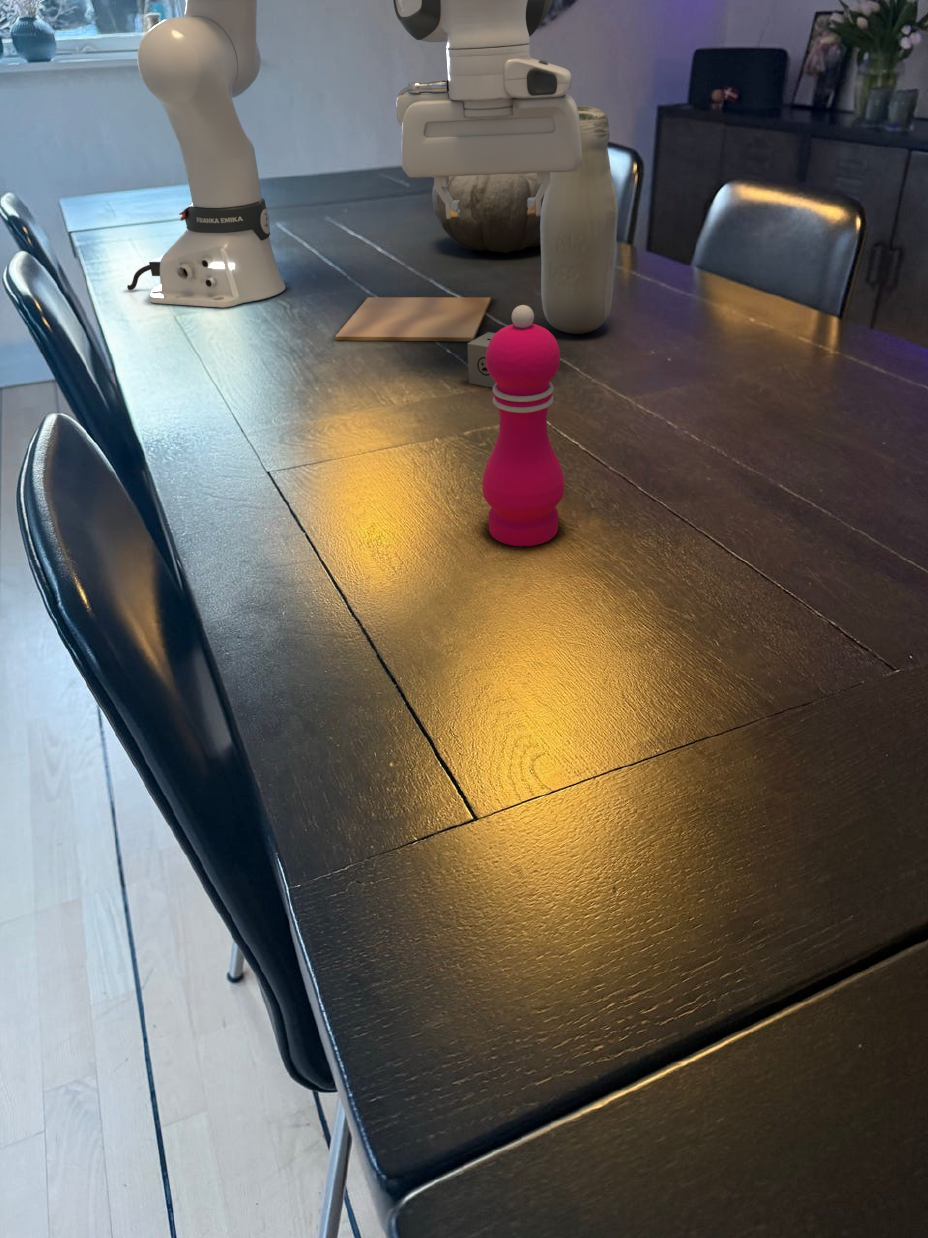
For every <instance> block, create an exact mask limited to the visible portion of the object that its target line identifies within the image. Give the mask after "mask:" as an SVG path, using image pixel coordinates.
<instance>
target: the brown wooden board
mask: <svg viewBox="0 0 928 1238" xmlns="http://www.w3.org/2000/svg"><path fill="white" fill-rule="evenodd" d="M491 301H492V297H491V296H489V297H488V296H487V297H486V296H485V297H484V296H483V297H480V296H479V297H478V296H477V297H470V296H467V297H466V296H465V297H464V296H463V297H460V296H459V297H458V296H457V297H455V296H454V297H451V296H450V297H449V296H448V297H446V296H445V297H443V296H441V297H439V296H438V297H435V296H434V297H433V296H429V297H428V296H427V297H423V296H421V297H420V296H419V297H418V296H417V297H416V296H413V297H412V296H411V297H410V296H409V297H408V296H407V297H406V296H405V297H403V296H401V297H398V296H397V297H393V296H390V297H389V296H386V297H385V296H382V297H381V296H379V297H378V296H377V297H376V296H375V297H374V296H372V297H371V296H369V297H367V298H366V299H365V300H364V302H363V303H362V304H361V305H360V306H359V308H358V309H357V310H356V311H355V313H354V314H352V316H351V317H350V318H349V320H348V321H346V323H345V324H344V326H343V327H342V328H341V329H340V330H339V332H338V333H337V334H336V335H335V341H356V342H358V341H359V342H361V341H362V342H366V341H369V342H371V341H373V342H377V341H378V342H471V341H473V340H475V339H476V336H477V334H478V332H479V329H480V327H481V325H482V322H483V320H484V318H485V316H486V313H487V311H488V308H489V306H490V305H491Z"/></svg>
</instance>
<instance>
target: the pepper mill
mask: <svg viewBox="0 0 928 1238" xmlns="http://www.w3.org/2000/svg"><path fill="white" fill-rule="evenodd" d="M534 320H535V313H534V311H533V309H532V308H531V307H530V306H529V305H525V304H521V305H517V306H516V307H515V308H514V309H513V311H512V313H511V322H512V324H509V325H506V326H504V327H502V328H500V329H499V330H498V331H496V332H495V333H496V334H495V335H494V336H493V337H492V339H491V340H490V342H489V345H488V347H487V352H486V366H487V370H488V372H489V374H490V375H491V377H492V378H493V379H494V380H495V381H496V384H495V385H494V386H493V388H492V393H493V397H492V403H493V405H494V407H496V408H498V415H499V426H498V427H499V428H498V429H499V430H498V434H497V438H496V441H495V445H494V447H493V450H492V452H491V454H490V456H489V459H488V460H487V463H486V466H485V469H484V473H483V476H482V487H481V489H482V490H481V491H482V495H483V498H484V500H485V501H486V503H487V504H488V505H489V506H490V507H491V508H490V509H489V512H488V531H489V534H490V536H491V537H492V538H493V539H495V540H496V541H497V542H499V543H502V544H504V545H508V546H512V547H533V546H538V545H542V544H545V543H547V542H549V541H550V540H551V539H553V538H554V537H555V536H556V535H557V533H558V532H559V531H558V530H559V511H558V509H557V508H556V507H557V505H559V503H560V502H561V501H562V499H563V496H564V494H565V480H564V479H565V476H564V472H563V469H562V466H561V463H560V462H559V459H558V457H557V455H556V452H555V451H554V448H553V446H552V444H551V441H550V437H549V433H548V422H547V421H548V419H547V417H548V410H549V407H550V406H551V405H552V404H553V403H554V396H553V392H554V385H553V383H552V382H551V381H552V379H553V378H554V377H555V376H556V374H557V373H558V371H559V368H560V364H561V349H560V347H559V344H558V341H557V339H556V337H555V336H554V335H553V334H552V333H551V331H549V330H548V329H547V328H546V327H543V326H541V325H539V324H535V323H534Z"/></svg>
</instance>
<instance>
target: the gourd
mask: <svg viewBox="0 0 928 1238" xmlns="http://www.w3.org/2000/svg"><path fill="white" fill-rule="evenodd" d="M541 185H542V183H541V184H538V183H537V173H523V174H497V175H470V176H449V184H448V185H447V186H446V188H447V190H448V192H449V194H450V195H451V197H452V199H453V200H460V207H459V209H460V213H461V215H460V218H459V219H447V218H446V206H445V203H444V202H443V200H442V199H441V197H440V195H439V194H438V192H437V191H436V189H435V184H434V183H433V185H432V186H433V187H432V195H431V197H432V206H433V210H434V213H435V216H436V217H437V220H438V223H439V224H440V225H441V228H442V229H443V230H444V231H445V233H446V234H447V235H448V236H449V237H450V238H451V239H452V240H453V242H454V243H455V244H457V245H458V246H460V247H461V248H463V249H466V250H469V251H480V252H486V251H488V252H491V253H501V254H502V253H503V254H508V253H511V252H521V251H523V250H525V249H526V248H537V247H538V246H541V232H540V222H541V215H540V216H533V217H528V216H527V211H528V207H527V200H528V198H533V197H536V195H537V193H538V191H539V189H540V187H541ZM544 194H545V193H544ZM543 199H544V195H543V197H542V199H541V209H542V203H543Z"/></svg>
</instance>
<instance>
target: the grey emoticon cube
mask: <svg viewBox="0 0 928 1238" xmlns="http://www.w3.org/2000/svg"><path fill="white" fill-rule="evenodd" d="M496 333H497V332H490V331H487V332H486V333H484V334H483V335H482V334H481V335H479V336H478V337H476V338H475V339H474V340H473V341H468V342H467V367H468V368H467V369H468V370H467V371H468V384H470V385H476V386H482V387H487V388H492V389H493V386H494V385H495V384H496V381H495V380H494V379H493V378H492V377H491V375H490V374H489V372H488V370H487V366H486V352H487V347H488V345H489V342H490V340H491V339H492V337H493V336H494V335H495V334H496Z"/></svg>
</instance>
